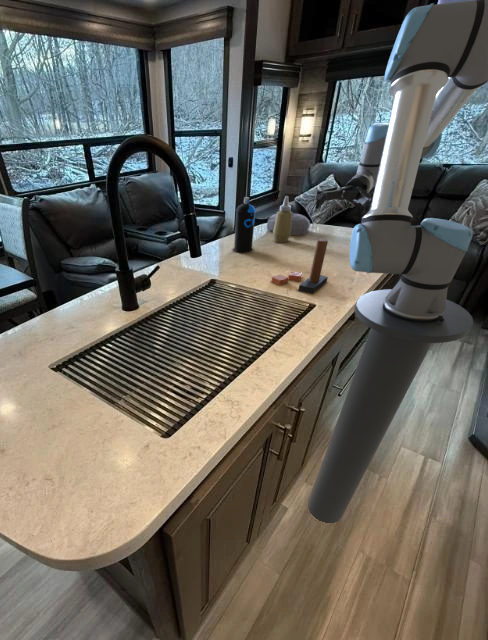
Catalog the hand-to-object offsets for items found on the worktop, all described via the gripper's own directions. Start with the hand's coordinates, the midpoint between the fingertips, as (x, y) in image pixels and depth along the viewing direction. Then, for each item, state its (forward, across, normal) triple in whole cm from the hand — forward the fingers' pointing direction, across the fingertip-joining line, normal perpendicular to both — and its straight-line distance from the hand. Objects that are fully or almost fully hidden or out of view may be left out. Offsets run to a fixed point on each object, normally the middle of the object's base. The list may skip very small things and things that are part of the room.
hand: (338, 207), depth 103 cm
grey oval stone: (-50, +32, -30) cm, 66 cm away
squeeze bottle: (-34, +29, -29) cm, 53 cm away
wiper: (+10, -1, -22) cm, 24 cm away
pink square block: (+6, +7, -23) cm, 25 cm away
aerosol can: (-14, +38, -27) cm, 49 cm away
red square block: (+12, +11, -22) cm, 27 cm away
